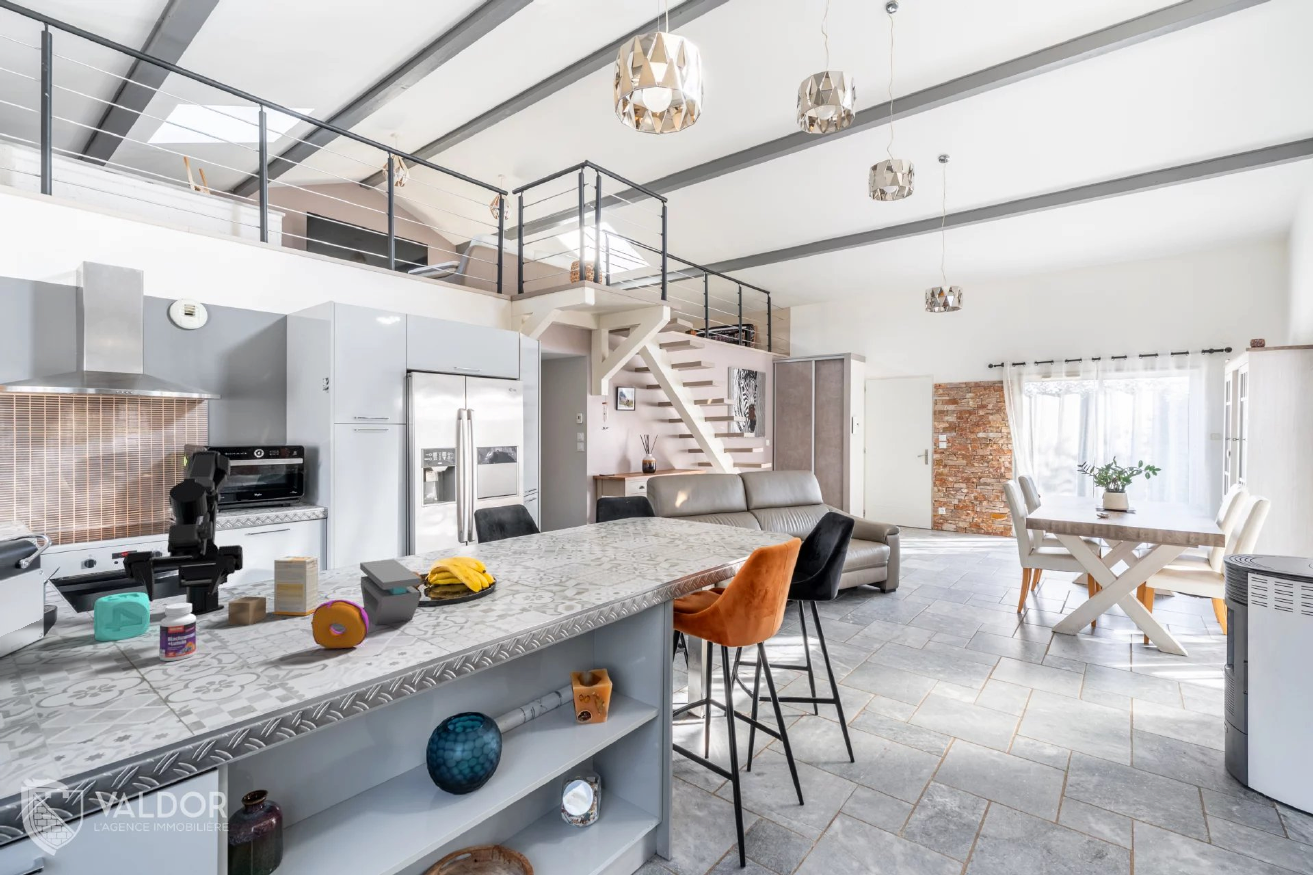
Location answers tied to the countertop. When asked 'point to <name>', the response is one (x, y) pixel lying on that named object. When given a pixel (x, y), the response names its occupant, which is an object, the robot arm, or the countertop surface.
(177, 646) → the pill bottle
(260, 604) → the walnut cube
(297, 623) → the countertop surface
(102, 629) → the decorative dice
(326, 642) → the donut
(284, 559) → the supplement box
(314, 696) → the countertop surface
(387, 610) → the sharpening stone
